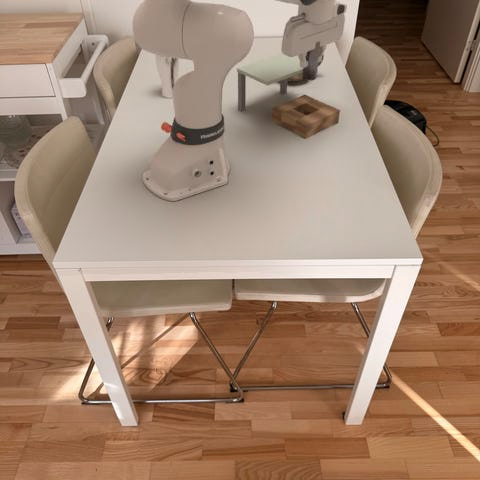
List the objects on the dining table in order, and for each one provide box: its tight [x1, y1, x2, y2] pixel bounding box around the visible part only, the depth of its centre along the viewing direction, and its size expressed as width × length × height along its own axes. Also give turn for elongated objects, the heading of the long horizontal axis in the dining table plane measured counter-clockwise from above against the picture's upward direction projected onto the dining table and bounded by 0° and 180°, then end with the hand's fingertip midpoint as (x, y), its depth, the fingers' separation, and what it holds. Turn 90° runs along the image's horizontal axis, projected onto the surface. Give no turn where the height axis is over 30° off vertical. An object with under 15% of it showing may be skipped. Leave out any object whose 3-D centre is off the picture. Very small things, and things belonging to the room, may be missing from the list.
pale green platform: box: [236, 52, 303, 113], centre depth 138 cm, size 20×13×13 cm, turn 131°
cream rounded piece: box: [155, 54, 180, 99], centre depth 144 cm, size 7×7×15 cm
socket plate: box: [270, 94, 341, 139], centre depth 134 cm, size 14×14×4 cm
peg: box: [302, 42, 320, 81], centre depth 123 cm, size 4×4×10 cm
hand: (310, 64), depth 124 cm, fingers closed on peg, 4 cm apart
